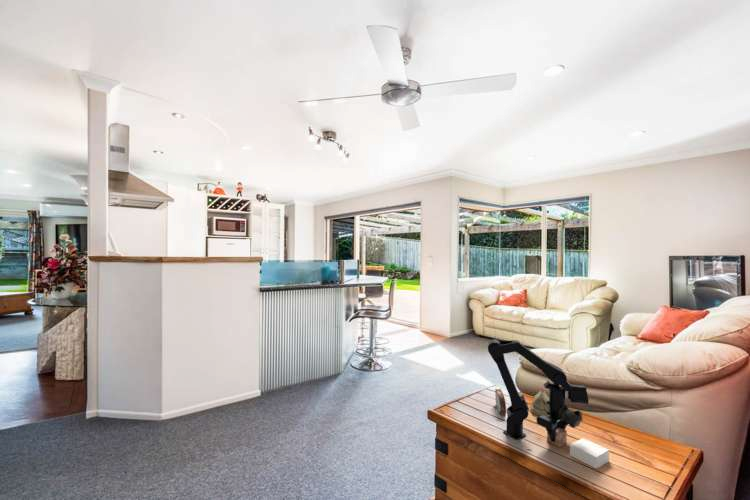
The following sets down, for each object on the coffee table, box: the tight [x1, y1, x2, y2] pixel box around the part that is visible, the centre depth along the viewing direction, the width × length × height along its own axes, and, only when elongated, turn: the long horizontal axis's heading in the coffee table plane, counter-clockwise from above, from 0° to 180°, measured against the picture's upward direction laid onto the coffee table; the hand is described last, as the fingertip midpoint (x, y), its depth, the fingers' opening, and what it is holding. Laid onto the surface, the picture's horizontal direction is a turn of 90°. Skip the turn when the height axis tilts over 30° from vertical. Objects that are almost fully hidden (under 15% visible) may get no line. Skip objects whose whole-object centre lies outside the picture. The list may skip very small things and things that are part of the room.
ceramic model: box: [529, 389, 550, 417], centre depth 158 cm, size 14×11×10 cm
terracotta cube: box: [546, 428, 568, 448], centre depth 130 cm, size 5×5×5 cm
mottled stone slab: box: [494, 388, 507, 415], centre depth 158 cm, size 15×3×8 cm, turn 168°
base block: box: [569, 437, 610, 470], centre depth 120 cm, size 9×9×4 cm
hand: (556, 439), depth 130 cm, fingers closed on terracotta cube, 5 cm apart
